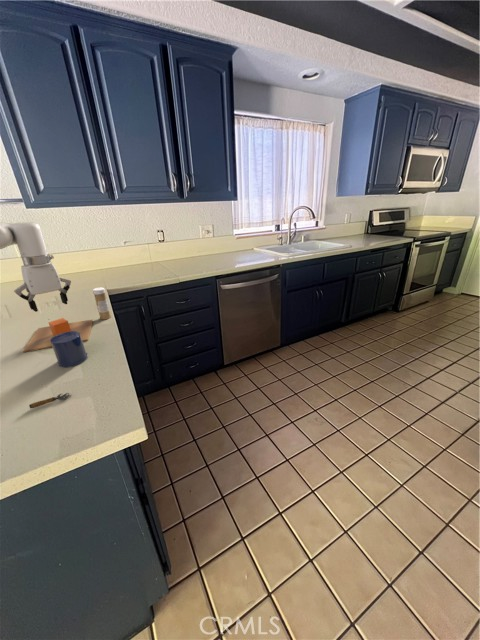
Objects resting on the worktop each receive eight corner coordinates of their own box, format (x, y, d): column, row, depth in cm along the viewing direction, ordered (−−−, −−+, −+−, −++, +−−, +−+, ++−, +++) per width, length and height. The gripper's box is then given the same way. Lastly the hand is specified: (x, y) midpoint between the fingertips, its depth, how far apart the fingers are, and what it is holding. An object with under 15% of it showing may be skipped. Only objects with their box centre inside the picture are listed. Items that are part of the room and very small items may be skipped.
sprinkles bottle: (100, 316, 119) (93, 287, 113) (111, 315, 120) (104, 286, 114) (99, 320, 115) (91, 290, 109) (110, 318, 116) (103, 289, 110)
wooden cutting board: (23, 352, 91) (22, 351, 91) (38, 329, 108) (38, 328, 108) (88, 340, 98) (87, 339, 97) (93, 320, 115) (92, 319, 114)
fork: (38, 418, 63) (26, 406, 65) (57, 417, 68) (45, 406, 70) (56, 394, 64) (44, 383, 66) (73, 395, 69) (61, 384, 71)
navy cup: (55, 370, 81) (46, 345, 77) (60, 356, 88) (52, 333, 84) (86, 363, 84) (78, 340, 80) (89, 351, 91) (82, 329, 87)
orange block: (57, 337, 99) (53, 325, 97) (52, 334, 102) (48, 322, 100) (71, 332, 103) (67, 320, 101) (66, 329, 106) (62, 318, 104)
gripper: (59, 255, 99) (71, 299, 106) (1, 263, 87) (19, 311, 94) (68, 258, 95) (79, 302, 102) (8, 266, 83) (26, 316, 89)
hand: (50, 306), depth 98 cm, fingers open, 9 cm apart
